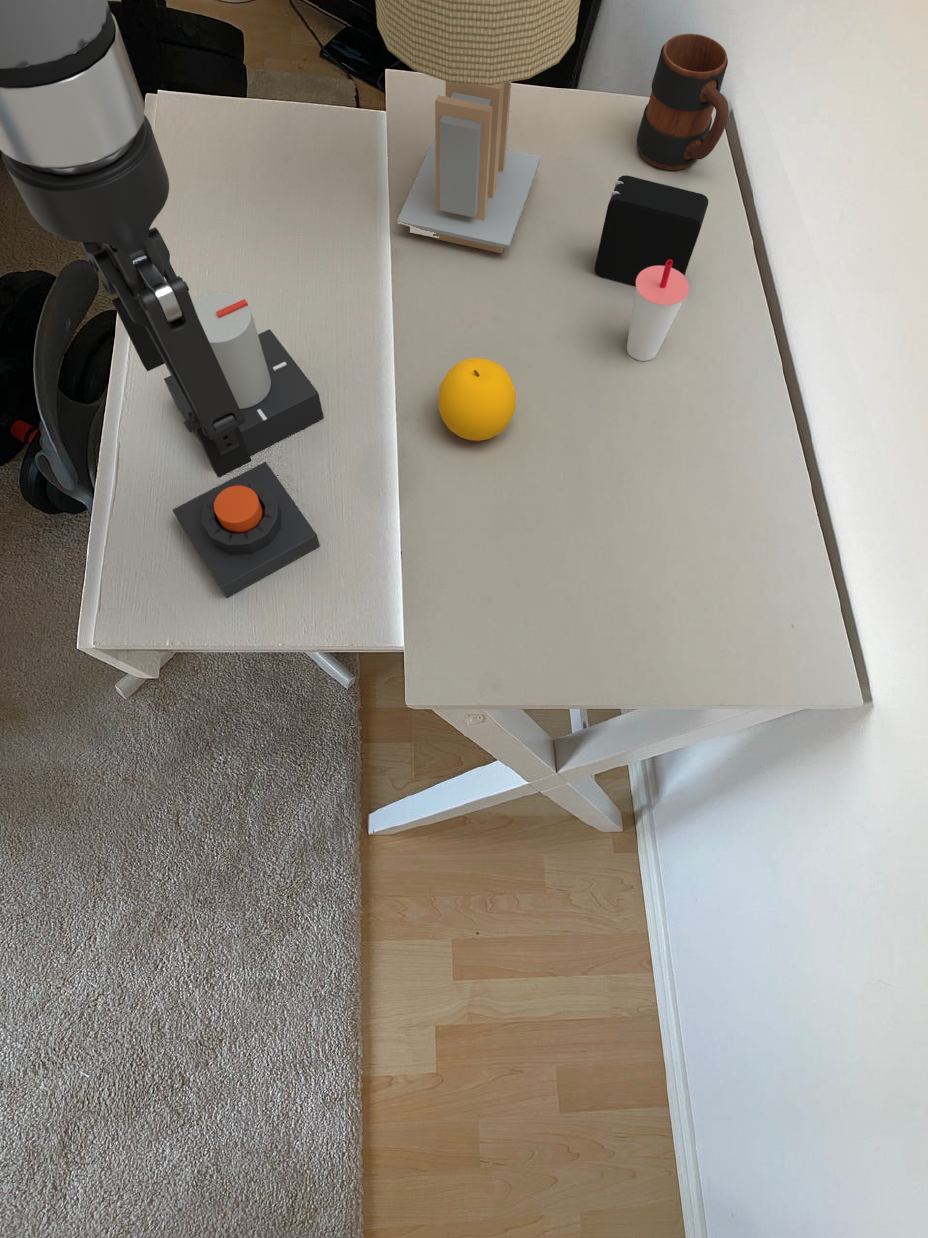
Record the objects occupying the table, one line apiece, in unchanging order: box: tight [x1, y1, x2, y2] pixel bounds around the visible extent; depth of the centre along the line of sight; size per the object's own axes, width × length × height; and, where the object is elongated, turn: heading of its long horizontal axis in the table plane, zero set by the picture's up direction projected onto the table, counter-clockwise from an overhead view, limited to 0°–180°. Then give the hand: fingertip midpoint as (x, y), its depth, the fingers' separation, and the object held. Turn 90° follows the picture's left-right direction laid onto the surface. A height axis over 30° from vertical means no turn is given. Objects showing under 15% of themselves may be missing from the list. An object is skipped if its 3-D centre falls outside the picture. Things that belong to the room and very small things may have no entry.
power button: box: [214, 486, 262, 533], centre depth 72 cm, size 4×4×2 cm
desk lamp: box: [375, 0, 581, 254], centre depth 80 cm, size 20×20×35 cm
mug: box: [636, 33, 730, 171], centre depth 95 cm, size 9×12×12 cm
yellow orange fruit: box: [437, 357, 517, 442], centre depth 79 cm, size 8×8×8 cm
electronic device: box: [593, 174, 709, 287], centre depth 87 cm, size 4×10×10 cm, turn 71°
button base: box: [172, 461, 321, 599], centre depth 74 cm, size 10×10×4 cm
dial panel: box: [163, 328, 325, 457], centre depth 80 cm, size 12×10×4 cm
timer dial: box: [192, 291, 271, 409], centre depth 74 cm, size 6×6×9 cm
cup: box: [626, 259, 690, 362], centre depth 81 cm, size 5×5×12 cm
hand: (195, 411), depth 60 cm, fingers open, 11 cm apart
